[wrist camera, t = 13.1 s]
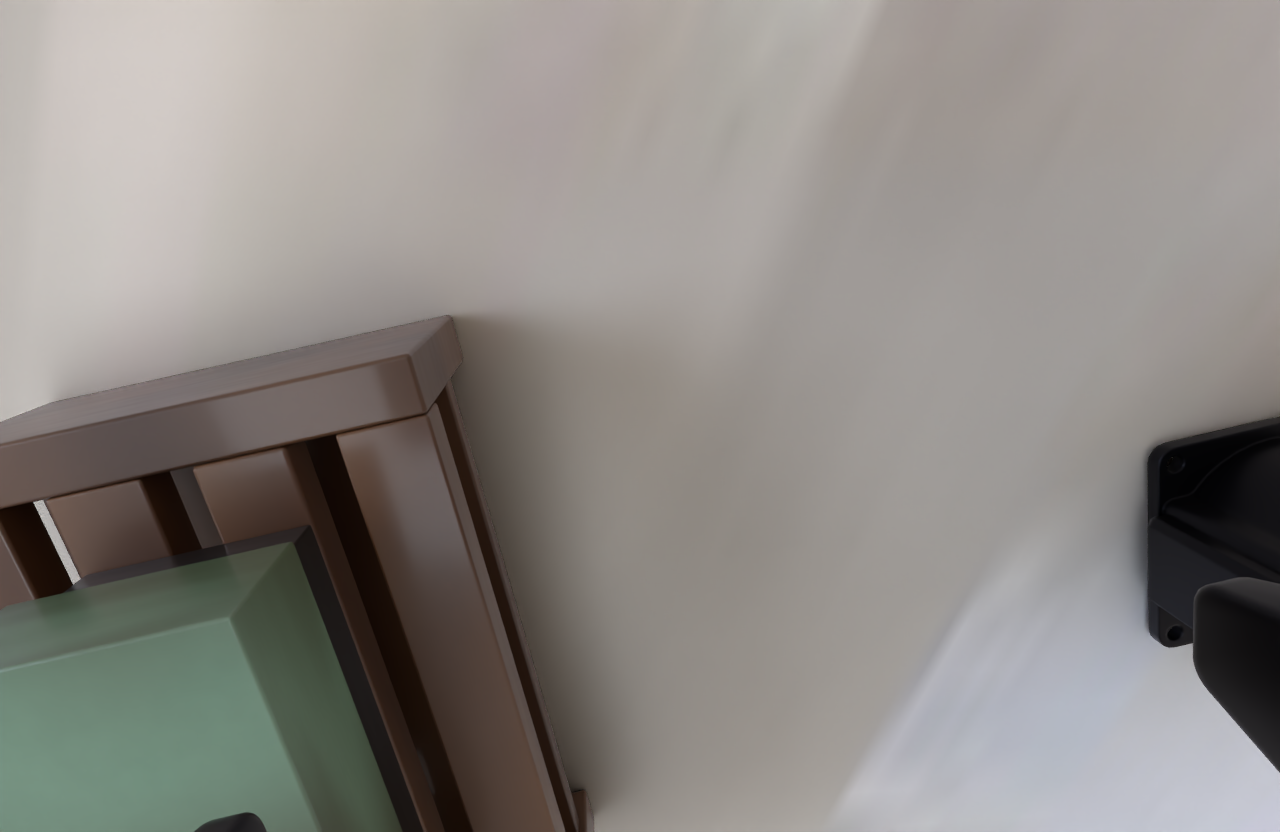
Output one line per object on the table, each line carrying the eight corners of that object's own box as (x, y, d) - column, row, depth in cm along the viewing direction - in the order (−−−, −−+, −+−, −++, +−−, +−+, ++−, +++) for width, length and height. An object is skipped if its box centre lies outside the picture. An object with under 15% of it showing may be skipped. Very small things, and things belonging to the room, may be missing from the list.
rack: (451, 314, 18) (409, 353, 14) (594, 818, 23) (600, 980, 18) (49, 402, 18) (-137, 474, 13) (275, 895, 23) (195, 1079, 18)
